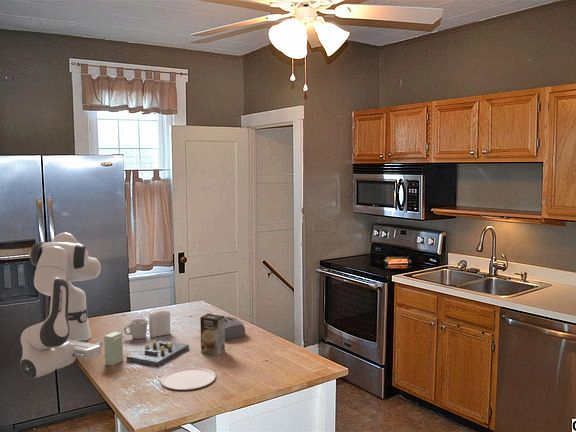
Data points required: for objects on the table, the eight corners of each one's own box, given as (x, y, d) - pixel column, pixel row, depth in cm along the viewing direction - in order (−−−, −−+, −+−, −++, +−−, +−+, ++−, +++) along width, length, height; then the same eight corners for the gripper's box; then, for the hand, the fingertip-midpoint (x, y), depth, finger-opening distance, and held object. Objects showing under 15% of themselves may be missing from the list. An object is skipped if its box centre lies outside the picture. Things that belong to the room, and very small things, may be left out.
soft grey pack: (249, 336, 252) (230, 326, 268) (249, 319, 251) (229, 310, 267) (221, 343, 243) (202, 331, 260) (220, 325, 243) (202, 315, 259)
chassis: (126, 361, 222) (126, 349, 221) (159, 344, 242) (159, 333, 242) (157, 366, 216) (157, 354, 215) (188, 349, 236) (188, 338, 235)
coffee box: (200, 352, 231) (199, 317, 229) (208, 348, 236) (207, 313, 235) (218, 356, 227) (217, 319, 225) (225, 351, 233) (225, 315, 231)
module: (105, 364, 219) (104, 336, 218) (115, 359, 224) (114, 331, 223) (113, 365, 217) (111, 337, 216) (123, 360, 223) (121, 332, 222)
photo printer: (168, 331, 260) (167, 307, 259) (172, 334, 256) (171, 309, 255) (148, 335, 254) (147, 310, 253) (151, 338, 251) (150, 312, 249)
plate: (219, 388, 195) (219, 384, 195) (162, 395, 190) (162, 392, 189) (211, 367, 215) (211, 364, 215) (159, 373, 209) (159, 370, 209)
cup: (125, 342, 245) (125, 325, 244) (122, 337, 252) (122, 321, 251) (149, 338, 250) (148, 322, 249) (145, 333, 257) (145, 317, 256)
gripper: (84, 349, 191) (111, 337, 204) (43, 342, 199) (71, 331, 212) (85, 365, 192) (112, 353, 204) (44, 358, 200) (72, 347, 213)
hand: (91, 342), depth 208 cm, fingers open, 8 cm apart
